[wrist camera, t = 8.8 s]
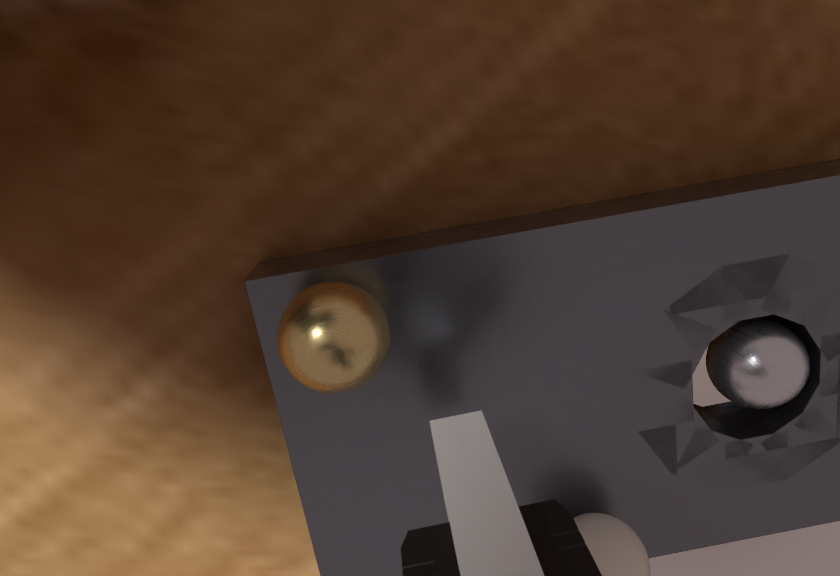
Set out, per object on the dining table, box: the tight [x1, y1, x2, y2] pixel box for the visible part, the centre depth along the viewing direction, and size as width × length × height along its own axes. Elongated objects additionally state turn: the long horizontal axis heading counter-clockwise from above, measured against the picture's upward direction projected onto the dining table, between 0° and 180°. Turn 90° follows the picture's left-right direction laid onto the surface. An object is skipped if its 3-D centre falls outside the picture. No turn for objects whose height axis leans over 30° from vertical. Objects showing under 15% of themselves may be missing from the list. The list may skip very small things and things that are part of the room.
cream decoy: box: [573, 513, 650, 576], centre depth 20 cm, size 3×3×3 cm
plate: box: [245, 159, 840, 576], centre depth 21 cm, size 22×13×2 cm, turn 99°
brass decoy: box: [277, 281, 390, 394], centre depth 17 cm, size 3×3×3 cm
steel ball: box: [706, 318, 810, 409], centre depth 21 cm, size 3×3×3 cm
